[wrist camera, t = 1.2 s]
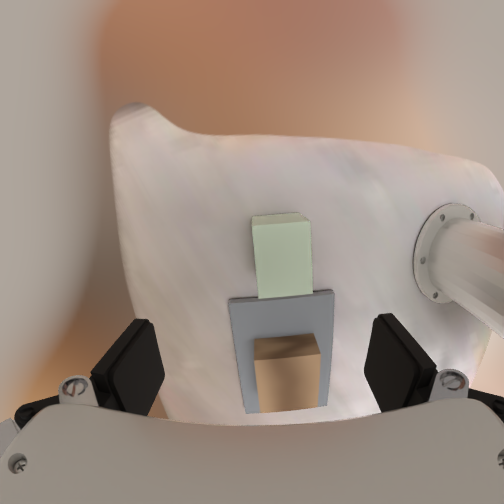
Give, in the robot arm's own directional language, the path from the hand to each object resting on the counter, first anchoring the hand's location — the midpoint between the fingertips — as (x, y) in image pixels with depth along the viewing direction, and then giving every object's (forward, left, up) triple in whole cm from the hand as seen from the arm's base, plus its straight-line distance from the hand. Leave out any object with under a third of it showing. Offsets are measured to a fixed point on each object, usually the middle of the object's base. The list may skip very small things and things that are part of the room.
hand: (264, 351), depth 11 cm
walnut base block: (-2, +14, -17) cm, 22 cm away
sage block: (-2, 0, -17) cm, 17 cm away
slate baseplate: (-2, +14, -17) cm, 22 cm away
